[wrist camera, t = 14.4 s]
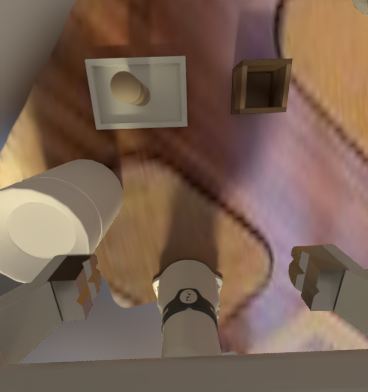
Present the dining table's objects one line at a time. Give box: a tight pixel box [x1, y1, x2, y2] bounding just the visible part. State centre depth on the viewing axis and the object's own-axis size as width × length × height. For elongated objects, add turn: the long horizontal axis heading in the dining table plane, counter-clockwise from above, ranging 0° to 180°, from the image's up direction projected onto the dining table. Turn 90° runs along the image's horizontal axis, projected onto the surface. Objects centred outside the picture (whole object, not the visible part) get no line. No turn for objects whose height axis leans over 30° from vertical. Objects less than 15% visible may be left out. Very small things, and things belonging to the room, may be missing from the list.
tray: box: [85, 56, 187, 130], centre depth 41 cm, size 12×18×2 cm, turn 92°
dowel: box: [110, 71, 150, 106], centre depth 36 cm, size 4×4×12 cm
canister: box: [0, 159, 123, 283], centre depth 40 cm, size 16×16×20 cm
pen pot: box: [231, 59, 292, 114], centre depth 39 cm, size 8×8×7 cm
